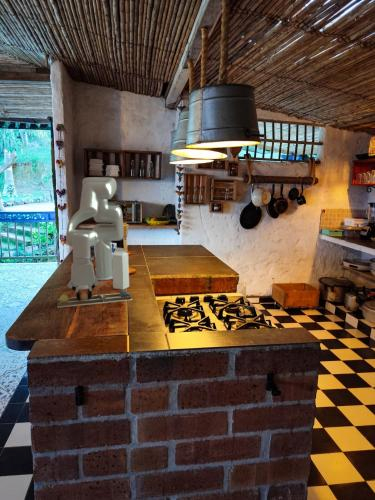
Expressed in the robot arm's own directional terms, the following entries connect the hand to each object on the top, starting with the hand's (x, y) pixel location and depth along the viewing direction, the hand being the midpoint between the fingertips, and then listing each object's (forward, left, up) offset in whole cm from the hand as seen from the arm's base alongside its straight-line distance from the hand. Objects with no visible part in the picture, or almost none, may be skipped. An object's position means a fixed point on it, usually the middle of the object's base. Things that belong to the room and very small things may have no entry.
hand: (84, 298), depth 161 cm
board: (-1, +5, -2) cm, 6 cm away
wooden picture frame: (0, -2, -1) cm, 2 cm away
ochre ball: (0, -9, +1) cm, 9 cm away
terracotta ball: (0, 0, +2) cm, 2 cm away
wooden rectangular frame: (0, +15, -1) cm, 15 cm away
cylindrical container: (-23, +1, -2) cm, 23 cm away
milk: (-17, +19, -3) cm, 26 cm away
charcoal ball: (0, +18, +1) cm, 18 cm away
